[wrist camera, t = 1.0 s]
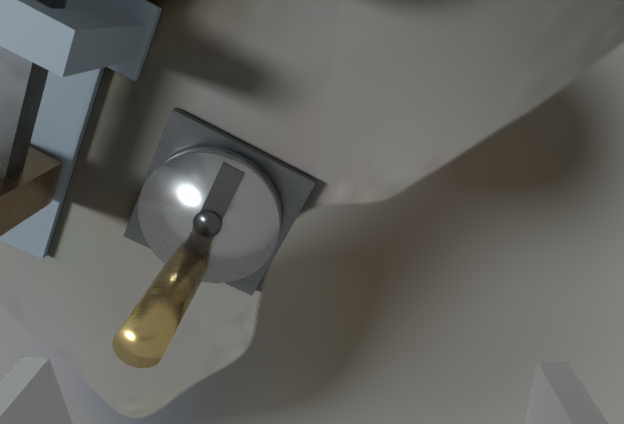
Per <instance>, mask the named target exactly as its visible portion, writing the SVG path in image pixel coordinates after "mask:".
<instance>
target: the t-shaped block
mask: <svg viewBox="0 0 624 424" xmlns="http://www.w3.org/2000/svg"><path fill="white" fill-rule="evenodd" d="M162 9H163V8H161V7H159V6H157V5H155V4H153V3H151V2H150V1H148V0H67V2H66V6H65V9H51V8H49V7H47V6H45V5H44V4H42V3H40V2H38V1H36V0H0V46H1V47H3V48H5V49H7V50H9V51H11V52H13V53H15V54H17V55H19V56H21V57H23V58H25V59H27V60H29V61H31V62H33V63H35V64H37V65H39V66H41V67H43V68H45V69H47V70H49V72H48V76H47V80H46V84H45V87H44V91H43V95H42V99H41V103H40V107H39V111H38V115H37V119H36V122H35V126H34V130H33V134H32V138H31V142H30V146H29V147H32V148H34V149H36V150H38V151H40V152H42V153H44V154H46V155H48V156H50V157H52V158H55V159H57V160H59V161H61V162H63V164H62V168H61V171H60V174H59V178H58V181H57V185H56V188H55V191H54V195H53V198H52V201H51V203H50V204H49V205H47V206H46V207H44V208H43V209H41V210H40V211H38V212H37V213H35V214H33V215H32V216H30V217H29V218H27V219H26V220H24V221H23V222H21V223H20V224H18V225H17V226H15V227H14V228H12V229H11V230H9V231H8V232H6V233H5V234H3V235H2V236H0V241H2V242H5V243H7V244H9V245H11V246H14V247H16V248H18V249H20V250H23V251H25V252H27V253H29V254H32V255H34V256H36V257H38V258H41V259H43V258H44V257H45V256H47V253H48V249H49V246H50V243H51V240H52V236H53V233H54V230H55V227H56V224H57V220H58V217H59V214H60V211H61V207H62V204H63V201H64V198H65V194H66V191H67V188H68V185H69V181H70V178H71V175H72V172H73V168H74V165H75V162H76V159H77V156H78V152H79V149H80V146H81V143H82V139H83V136H84V133H85V130H86V126H87V123H88V120H89V117H90V113H91V110H92V107H93V104H94V100H95V97H96V94H97V91H98V87H99V84H100V81H101V78H102V75H103V71H104V68H105V67H108V68H110V69H112V70H114V71H115V72H117V73H119V74H121V75H123V76H125V77H127V78H129V79H131V80H133V81H136V80H138V78H139V76H140V73H141V70H142V67H143V64H144V61H145V58H146V55H147V52H148V49H149V46H150V44H151V41H152V38H153V35H154V32H155V29H156V26H157V23H158V20H159V17H160V14H161V12H162Z"/></svg>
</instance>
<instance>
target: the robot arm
mask: <svg viewBox="0 0 624 424" xmlns="http://www.w3.org/2000/svg"><path fill="white" fill-rule="evenodd" d="M0 424H73V423H72V421H71V418H70V415H69V412H68V409H67V407H66V404H65V401H64V398H63V396H62V393H61V390H60V387H59V384H58V381H57V379H56V376H55V373H54V371H53V368H52V365H51V362H50V359H49V358H22V359H21V360H20V361H19V363H18V364H17V365H16V366H15V367H14V368H13V369H12V370H11V371H10V372H9V373H8V375H7V376H6V377H5V378H4V379H3V380H2V381H1V382H0ZM525 424H608V423H607V421H606V420H605V418H604V417H603V415H602V413H601V412H600V410H599V409H598V407H597V406H596V404H595V403H594V401H593V399H592V398H591V396H590V395H589V393H588V392H587V390H586V389H585V387H584V386H583V384H582V382H581V381H580V379H579V378H578V376H577V375H576V373H575V372H574V370H573V369H572V367H571V365H570V364H569V363H568V362H538V363H537V368H536V372H535V377H534V382H533V386H532V391H531V396H530V401H529V406H528V410H527V415H526V420H525Z"/></svg>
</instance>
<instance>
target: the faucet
mask: <svg viewBox="0 0 624 424" xmlns="http://www.w3.org/2000/svg"><path fill="white" fill-rule="evenodd" d="M138 217H139V224H140V227H141V231H142V233H143V235H144V238H145V240H146V242H147V243H148V245H149V247H150V248H151V249H152V251H153V252H154V253H155V254H156V256H157V257H158V258H159V259H160V260H161V261H162V262H164V263H165V265H164V267H163V268H162V269H161V271H160V272H159V274H158V275H157V277H156V278H155V279H154V281H153V282H152V284H151V285H150V287H149V288H148V289H147V291H146V292H145V294H144V295H143V297H142V298H141V300H140V301H139V302H138V304H137V305H136V307H135V308H134V310H133V311H132V312H131V314H130V315H129V317H128V318H127V320H126V321H125V322H124V324H123V325H122V327H121V328H120V330H119V331H118V332H117V334H116V335H115V337H114V339H113V349H114V352H115V353H116V355H117V356H118V357H119V359H121V360H122V361H123V362H124V363H126V364H128V365H130V366H133V367H137V368H149V367H152V366H154V365H156V364H157V363H158V362H159V361H160V360H161V358H162V356H163V354H164V352H165V350H166V348H167V347H168V345H169V343H170V341H171V339H172V337H173V335H174V333H175V331H176V329H177V327H178V325H179V323H180V322H181V320H182V318H183V316H184V314H185V312H186V310H187V308H188V306H189V304H190V302H191V300H192V298H193V297H194V295H195V293H196V291H197V289H198V287H199V285H200V283H201V281H203V282H211V283H223V282H231V281H235V280H239V279H242V278H244V277H246V276H249V275H251V274H252V273H254V272H255V271H257V270H258V269H259V268H260V267H262V266H263V265H264V264H265V262H266V261H267V260H268V259H269V257H270V256H271V254H272V253H273V251H274V248H275V246H276V243H277V240H278V236H279V233H280V229H281V224H282V209H281V203H280V200H279V196H278V194H277V191H276V189H275V187H274V185H273V184H272V182H271V180H270V179H269V178H268V177H267V175H266V174H265V173H264V172H263V171H262V170H261V169H260V168H259V167H258V166H257V165H256V164H254V163H253V162H252V161H250V160H249V159H247V158H246V157H244V156H242V155H240V154H238V153H235V152H233V151H230V150H226V149H223V148H217V147H196V148H192V149H187V150H185V151H182V152H179V153H177V154H176V155H174V156H172V157H170V158H169V159H168V160H167V161H165V162H164V163H163V164H162V165H161V166H159V167H158V168H157V169H156V170H155V171H154V172H153V173H152V174H151V175H150V176H149V178H148V179H147V181H146V182H145V184H144V186H143V188H142V191H141V194H140V197H139V203H138Z"/></svg>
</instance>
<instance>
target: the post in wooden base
mask: <svg viewBox="0 0 624 424" xmlns="http://www.w3.org/2000/svg"><path fill="white" fill-rule="evenodd" d="M36 1H38V2H40V3H42V4H44V5H45V6H47V7H49V8H51V9H65V6H66V2H67V0H36ZM48 72H49V70H47V69H45V68H43V67H41V66H39V65H37V64H35V63H33V62H31V61H29V60H27V59H25V58H23V57H21V56H19V55H17V54H15V53H13V52H11V51H9V50H7V49H5V48H3V47H1V46H0V236H2V235H3V234H5V233H6V232H8V231H9V230H11V229H12V228H14V227H15V226H17V225H18V224H20V223H21V222H23V221H24V220H26V219H27V218H29V217H30V216H32V215H33V214H35V213H37V212H38V211H40V210H41V209H43V208H44V207H46V206H47V205H49V204H50V203H51V201H52V198H53V195H54V191H55V188H56V185H57V181H58V178H59V174H60V171H61V168H62V164H63V162H61V161H59V160H57V159H55V158H52V157H50V156H48V155H46V154H44V153H42V152H40V151H38V150H36V149H34V148H32V147H29V146H30V142H31V138H32V134H33V130H34V126H35V122H36V119H37V115H38V111H39V107H40V103H41V99H42V95H43V91H44V87H45V84H46V80H47V76H48Z"/></svg>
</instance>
